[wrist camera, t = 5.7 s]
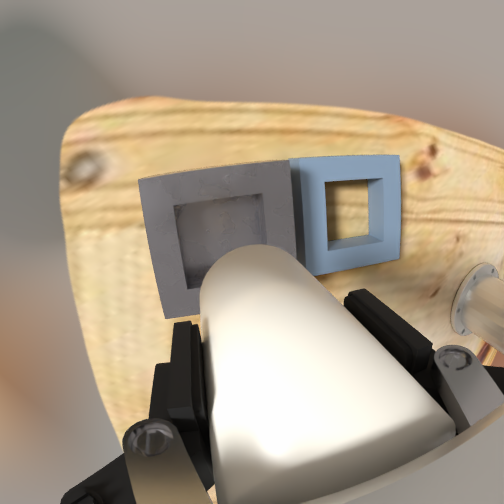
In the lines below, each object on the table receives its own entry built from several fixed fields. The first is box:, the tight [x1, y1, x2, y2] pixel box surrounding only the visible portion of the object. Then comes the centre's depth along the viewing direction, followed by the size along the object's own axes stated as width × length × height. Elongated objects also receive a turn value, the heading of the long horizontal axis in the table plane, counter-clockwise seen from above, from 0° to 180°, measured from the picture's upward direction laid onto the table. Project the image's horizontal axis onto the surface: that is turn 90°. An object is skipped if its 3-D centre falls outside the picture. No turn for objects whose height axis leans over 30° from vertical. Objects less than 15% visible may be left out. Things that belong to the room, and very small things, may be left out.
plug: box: [200, 244, 456, 504], centre depth 9 cm, size 5×5×10 cm
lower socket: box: [288, 155, 401, 276], centre depth 29 cm, size 11×11×3 cm
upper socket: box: [138, 160, 297, 319], centre depth 26 cm, size 11×11×6 cm
